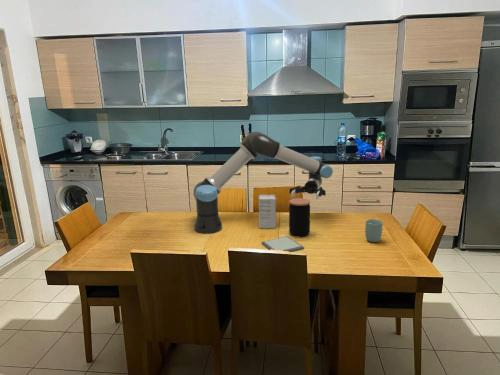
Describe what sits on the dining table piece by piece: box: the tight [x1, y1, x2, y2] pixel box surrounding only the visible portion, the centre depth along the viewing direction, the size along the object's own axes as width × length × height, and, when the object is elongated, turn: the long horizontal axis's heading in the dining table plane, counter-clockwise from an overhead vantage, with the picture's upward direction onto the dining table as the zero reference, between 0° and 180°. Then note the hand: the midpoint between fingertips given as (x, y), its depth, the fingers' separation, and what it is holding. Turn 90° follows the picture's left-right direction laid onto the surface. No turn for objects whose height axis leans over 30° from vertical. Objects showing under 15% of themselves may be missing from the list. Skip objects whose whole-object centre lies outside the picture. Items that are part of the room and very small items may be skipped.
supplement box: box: [258, 194, 277, 229], centre depth 205 cm, size 10×9×17 cm
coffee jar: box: [288, 197, 311, 238], centre depth 191 cm, size 11×11×18 cm
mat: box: [261, 236, 305, 253], centre depth 178 cm, size 15×15×1 cm
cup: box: [364, 218, 384, 243], centre depth 181 cm, size 8×8×10 cm
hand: (304, 195), depth 198 cm, fingers open, 13 cm apart
